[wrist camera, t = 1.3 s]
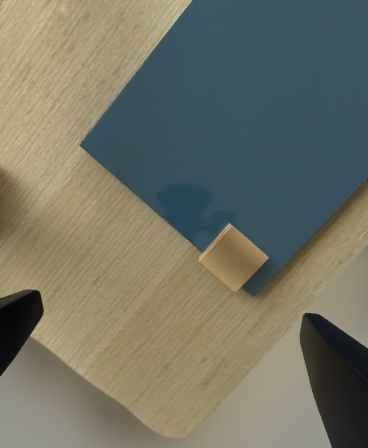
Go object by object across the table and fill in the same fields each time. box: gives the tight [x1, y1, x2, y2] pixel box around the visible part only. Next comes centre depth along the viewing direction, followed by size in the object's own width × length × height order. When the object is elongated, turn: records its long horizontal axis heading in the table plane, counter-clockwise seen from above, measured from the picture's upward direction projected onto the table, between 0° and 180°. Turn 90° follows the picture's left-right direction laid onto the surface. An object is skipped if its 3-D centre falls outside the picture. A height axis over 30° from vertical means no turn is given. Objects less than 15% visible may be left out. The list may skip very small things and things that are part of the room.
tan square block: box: [199, 223, 269, 293], centre depth 20 cm, size 4×4×2 cm
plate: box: [79, 0, 368, 297], centre depth 20 cm, size 38×20×1 cm, turn 139°
